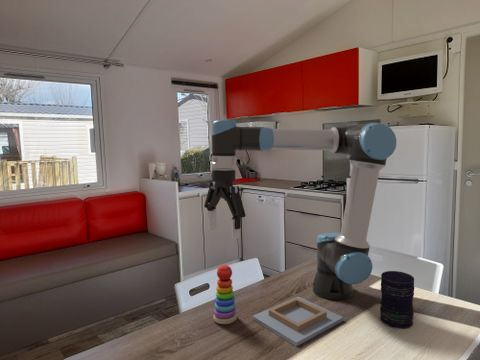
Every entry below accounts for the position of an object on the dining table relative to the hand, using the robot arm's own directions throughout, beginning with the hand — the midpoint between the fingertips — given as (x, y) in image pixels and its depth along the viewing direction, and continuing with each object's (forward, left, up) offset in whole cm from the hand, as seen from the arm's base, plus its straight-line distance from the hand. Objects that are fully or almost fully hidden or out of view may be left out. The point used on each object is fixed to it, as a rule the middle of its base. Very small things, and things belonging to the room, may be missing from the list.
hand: (223, 234), depth 114 cm
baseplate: (-18, +16, -30) cm, 38 cm away
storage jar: (-42, +37, -30) cm, 63 cm away
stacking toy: (0, 0, -30) cm, 30 cm away
